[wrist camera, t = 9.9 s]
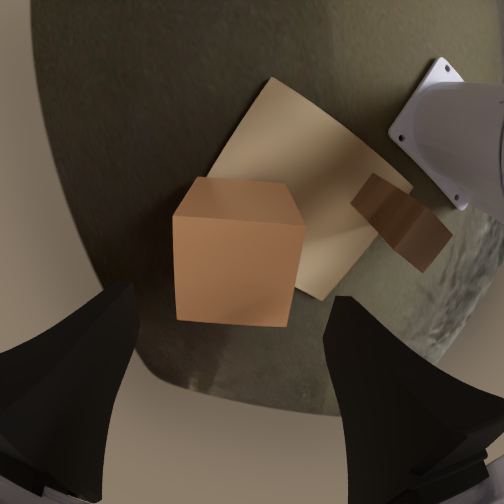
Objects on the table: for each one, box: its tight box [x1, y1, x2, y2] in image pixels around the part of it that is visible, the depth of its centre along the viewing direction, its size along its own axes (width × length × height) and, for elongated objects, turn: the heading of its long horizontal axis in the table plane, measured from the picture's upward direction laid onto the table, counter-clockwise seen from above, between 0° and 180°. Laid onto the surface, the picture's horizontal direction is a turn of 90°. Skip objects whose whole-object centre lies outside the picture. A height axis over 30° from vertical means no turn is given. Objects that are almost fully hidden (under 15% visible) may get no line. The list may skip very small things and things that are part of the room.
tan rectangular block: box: [173, 177, 306, 327], centre depth 15 cm, size 5×5×7 cm
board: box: [207, 77, 413, 301], centre depth 19 cm, size 12×11×1 cm
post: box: [350, 173, 453, 273], centre depth 16 cm, size 3×3×7 cm
